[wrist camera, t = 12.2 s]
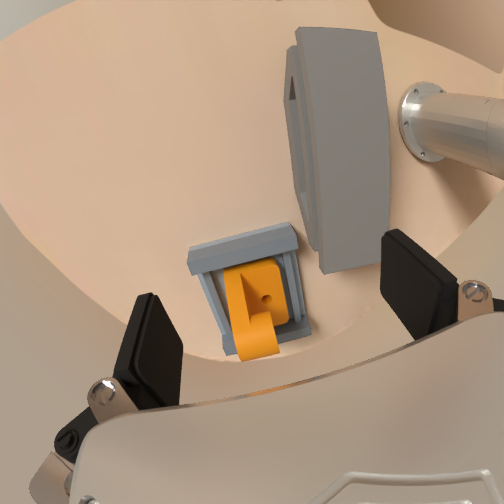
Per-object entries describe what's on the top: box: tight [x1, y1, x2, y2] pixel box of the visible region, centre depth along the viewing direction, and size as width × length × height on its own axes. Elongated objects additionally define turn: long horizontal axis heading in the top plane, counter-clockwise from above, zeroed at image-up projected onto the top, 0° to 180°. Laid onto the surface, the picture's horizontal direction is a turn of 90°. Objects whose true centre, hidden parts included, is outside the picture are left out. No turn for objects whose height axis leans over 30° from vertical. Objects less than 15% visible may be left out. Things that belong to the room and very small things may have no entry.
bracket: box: [223, 257, 289, 362], centre depth 36 cm, size 11×7×12 cm, turn 13°
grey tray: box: [187, 222, 311, 356], centre depth 41 cm, size 14×18×4 cm
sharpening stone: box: [284, 27, 390, 275], centre depth 29 cm, size 25×8×11 cm, turn 9°
